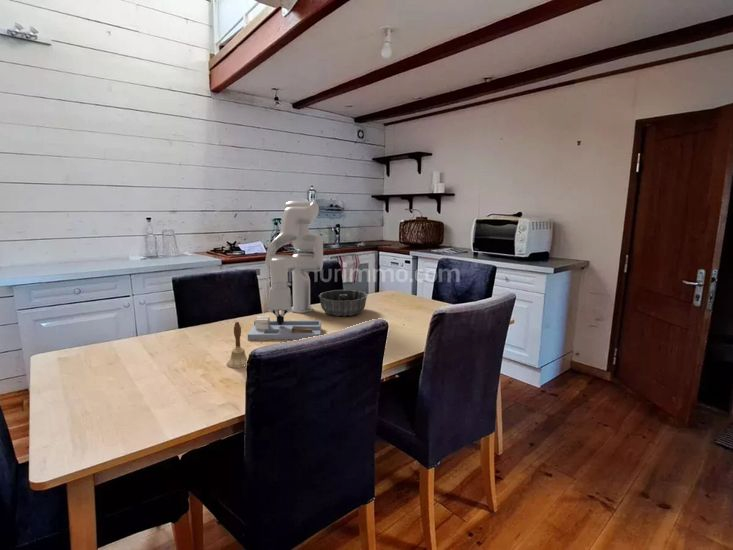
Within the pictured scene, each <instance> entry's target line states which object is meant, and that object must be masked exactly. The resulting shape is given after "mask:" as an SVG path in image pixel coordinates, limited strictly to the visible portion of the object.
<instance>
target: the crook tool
mask: <svg viewBox="0 0 733 550" xmlns="http://www.w3.org/2000/svg"><path fill="white" fill-rule="evenodd" d="M292 333H312V329H295V328H292Z"/></svg>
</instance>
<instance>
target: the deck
mask: <svg viewBox="0 0 733 550" xmlns="http://www.w3.org/2000/svg"><path fill="white" fill-rule="evenodd" d="M292 328H295V329H312V333H292ZM321 333H322V320H284V323H282V325H278V323H277V320H270V326H269V328H268V329H256V325H255V320H254V322H253V326H252V327H251V329H250V330H249V332H248V333H247V340H248V341H256V340H255V339H285V340H284V341H289V340H288V339H293V340H292V341H298V340H297V339H302V338H308V337H313V336H319V335H320V336H321V335H322V334H321Z"/></svg>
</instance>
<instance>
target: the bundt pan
mask: <svg viewBox="0 0 733 550" xmlns="http://www.w3.org/2000/svg"><path fill="white" fill-rule="evenodd" d="M318 297H319V302H320V307H321V310H323V311H324V313H326V314H328V315H330V316H336V317H341V316H343V317H346V316H353V315H355V316H356V315H358V314H360V313H362V312H363V311H364V309H365V307H366V304H367V298H368V294H366V292H363V291H360V290H354V289H353V290H352V289H334V290H329V291H325V292H321V293H320V294H319V295H318Z"/></svg>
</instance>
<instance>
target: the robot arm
mask: <svg viewBox="0 0 733 550" xmlns="http://www.w3.org/2000/svg"><path fill="white" fill-rule="evenodd" d="M319 207H320V206H319V204H318V203H317V201H314V200H313V201H311V200H290V201H287V202H286V203H285V204H284V211H283V215H282V219H281V220H282V221H281V227H280V232H279V234H278V235H277V236H276V237H275V238H274V239H272V241H271V242H270V243H269V245H268V247H267V249H266V250H267V251H266V255H265V261H264V263H265V267H266V269H267V270H269V271H270V287H269V290H268V299H267V300H268V302H267V306H268V307H267V308H268V309H267V312H268V313H271V314H272V313H273V314H274V315H275V318H276V321H277V323H278V325H282V323H284V321H285V319H284V318H285V315H286V314H287V313H291V312H293V313H299V314H302V313H304V314H305V313H310V312H313V310H314V307H313V306H312V305H311V279H310V276H309V274H308V273H307V272H321V271H322V270H323V266H324V242H323V241H324V240H323V237H322V236H321V234H320V233H319V234H318V233H310V227H309V226H310V225H311V224H313V223H314V221H315V219H317V217H318V215H319V211H320V210H319V209H320V208H319ZM290 243H292V245H293V249H294V250H295V251H298V252H300V253H293V254H292V255H289V254H288V255H287V254H286V255H285V254H276V252H277V251H278V250H279V249H280V248H281V247H283V246H286V245H288V244H290ZM301 252H313V253H301ZM289 272H291V278H292V283H291V282H290V281H289V277H288V276H289V275H288V273H289ZM291 286H292V291H291V288H290V287H291ZM291 292H292V294H291ZM280 311H281V313H280Z"/></svg>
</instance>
